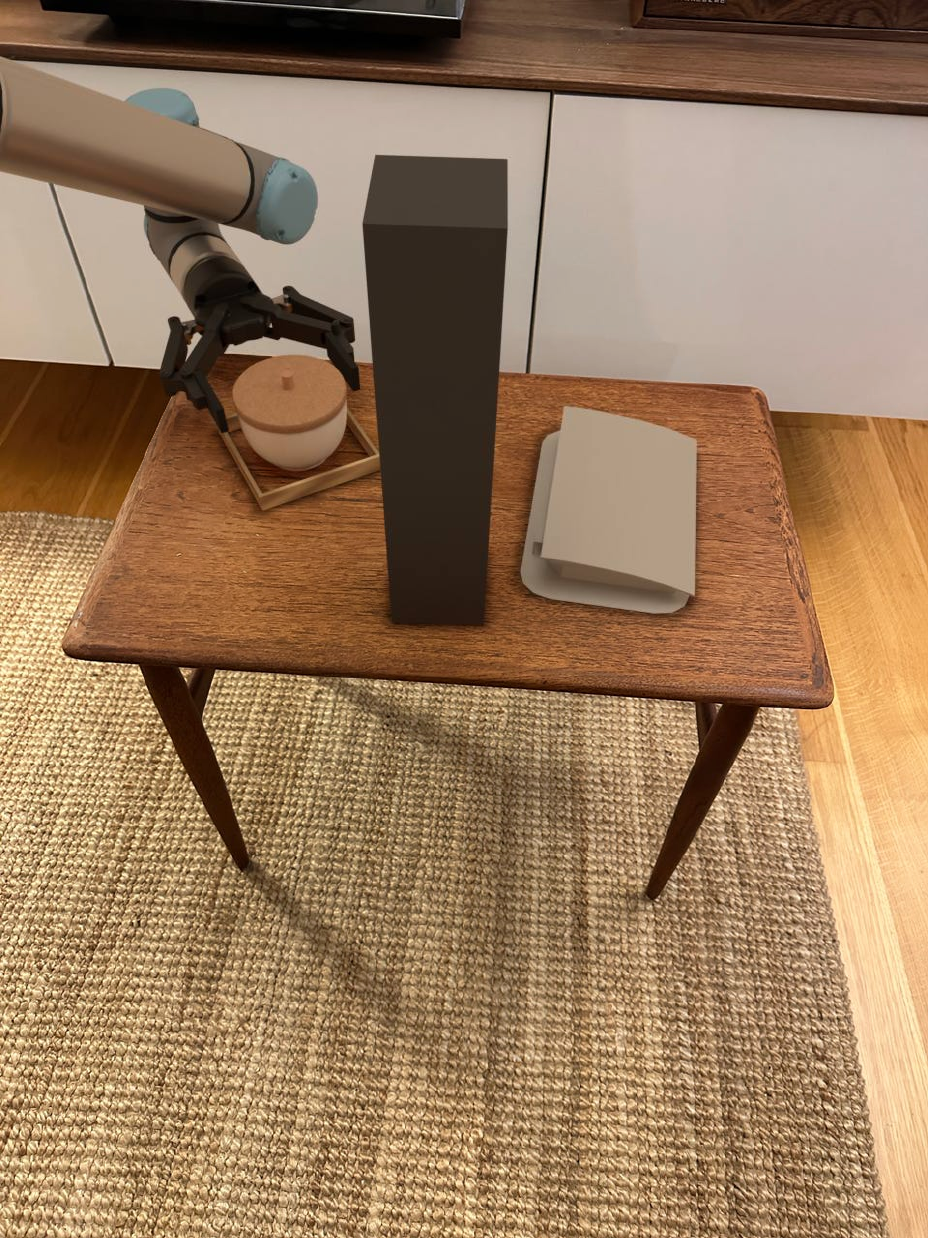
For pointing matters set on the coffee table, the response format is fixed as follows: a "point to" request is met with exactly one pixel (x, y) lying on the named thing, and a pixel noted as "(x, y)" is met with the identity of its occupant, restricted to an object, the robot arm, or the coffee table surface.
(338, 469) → the empty wooden frame
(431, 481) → the pedestal
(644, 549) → the beige covered tray
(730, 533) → the coffee table surface
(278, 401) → the trinket box
